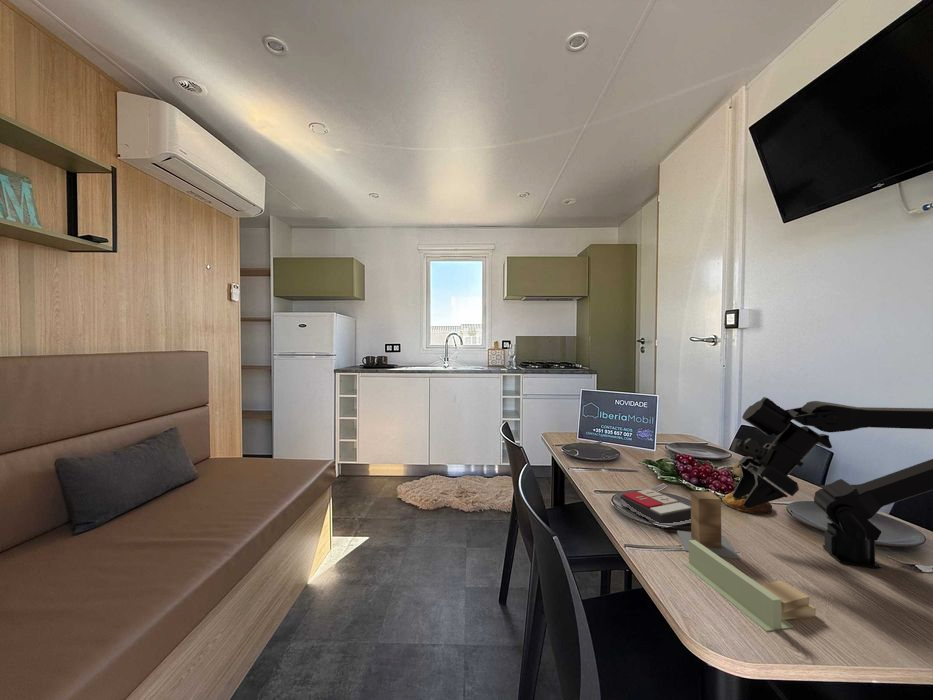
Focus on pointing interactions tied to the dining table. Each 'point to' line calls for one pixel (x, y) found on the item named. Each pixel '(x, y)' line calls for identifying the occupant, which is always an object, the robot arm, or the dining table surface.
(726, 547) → the felt pad
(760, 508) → the bread roll
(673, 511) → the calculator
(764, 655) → the dining table surface
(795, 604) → the offcut upper
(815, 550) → the dining table surface
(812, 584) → the dining table surface
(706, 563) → the green flanged rail
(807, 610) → the offcut lower
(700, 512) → the brown wooden block
